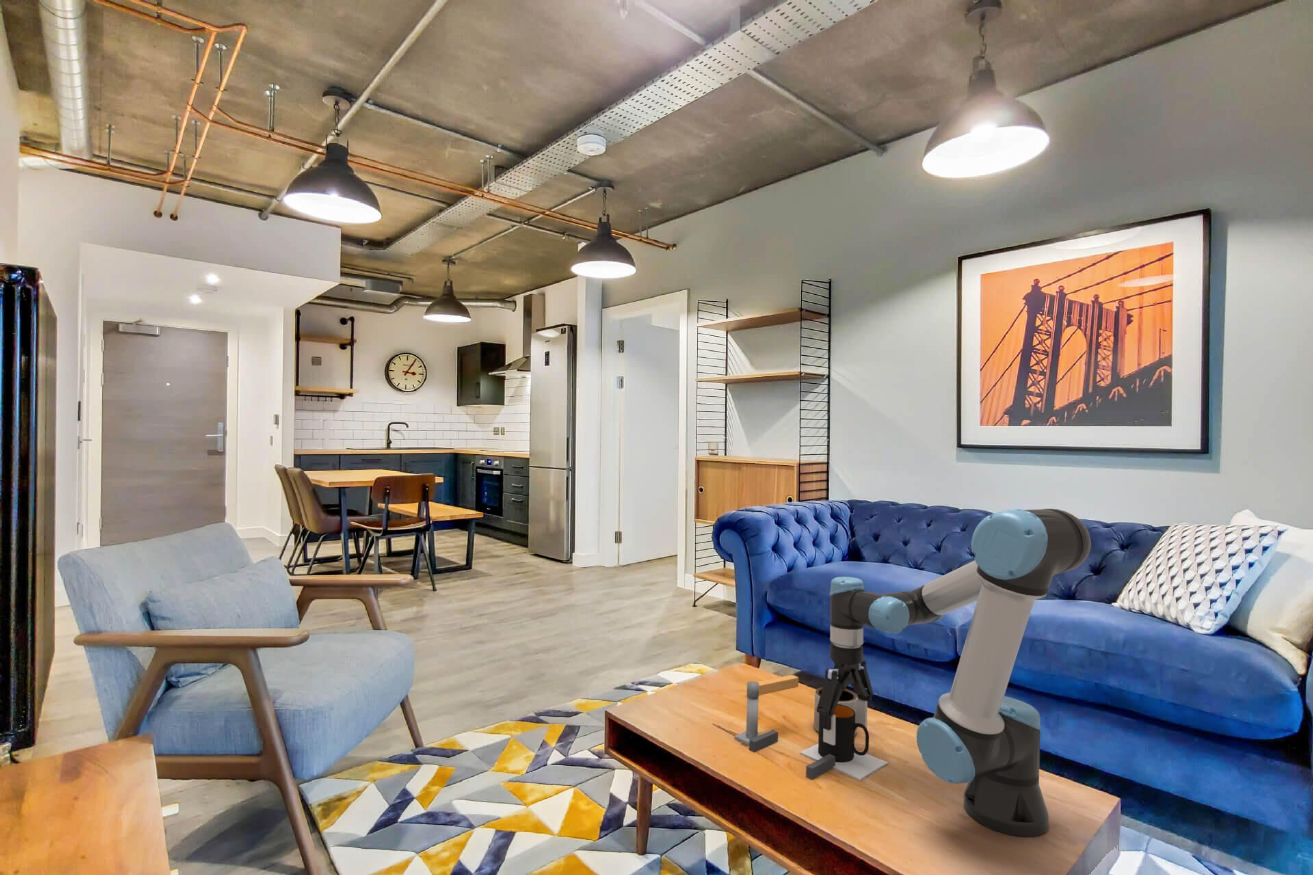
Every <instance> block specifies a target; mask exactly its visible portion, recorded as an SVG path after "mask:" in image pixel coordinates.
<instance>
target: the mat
mask: <svg viewBox="0 0 1313 875" xmlns="http://www.w3.org/2000/svg"><path fill="white" fill-rule="evenodd" d="M856 750H857V751H859V752H862V751H860V750H859V749H856ZM799 754H800V755H802V756H804V757H806V758H809V759H811V760H814V762H815V761H817V760H819V759H821V758H823V757H822V756H820V754H819V753H818V743H816V744H814V745H811V746H810V747H808V748H805V749H803V750H802V751H800V752H799ZM888 764H889V762H887V761H886V760H882V759H880V758H879V757H875V756H873V755H871V754H868V753H866V754H865V755H863V756H861V755H857V754H856V753H854V758H853V760H851V761H849V762H835V766H833V770H836V771H838V772H839V773H842V774H845V775H847V776H849V777H851V778H852V779H855V780H858V781H862V780H863V779H866V778H867V777H869V776H871V775H873V773H875V772H877V771H878V770H880V769H883V768H884V767H885V766H887V765H888Z"/></svg>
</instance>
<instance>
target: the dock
mask: <svg viewBox="0 0 1313 875" xmlns="http://www.w3.org/2000/svg"><path fill="white" fill-rule="evenodd" d="M745 725H746V727H745V728H746V730H745V731H743V732H741V733H738V734H736V735H734V740H736V741H737V742H740V743H742V744H744V745H747V746H748V750H749V751H751V752H754V753H755V752H758V751H760V750H762V749H764V748H765V749H766V747H769V746H772V745H773V744H776V743H777V742H779V731H777V730H775V729H771V730H769V731H766V732H764V733H762V734H761V733H760V732H758V728H759V726H758V725H759V697H758V698H750V697H748V696H747V695H746V724H745ZM833 766H835V756H833V755H831V754H828V755H826V756H825V757H823V758H821V759H819V760H817V761H815V760H814V761H813V762H811V763H809V764H807V765H805V767H806V768H805V770H806V771H805V777H806V778H808V779H810V780H814V779H816V778H818V777H820V776H822V775H823V774H825V773H827V772H829V771H831V770H832V769H833ZM833 770H834V769H833Z"/></svg>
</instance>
